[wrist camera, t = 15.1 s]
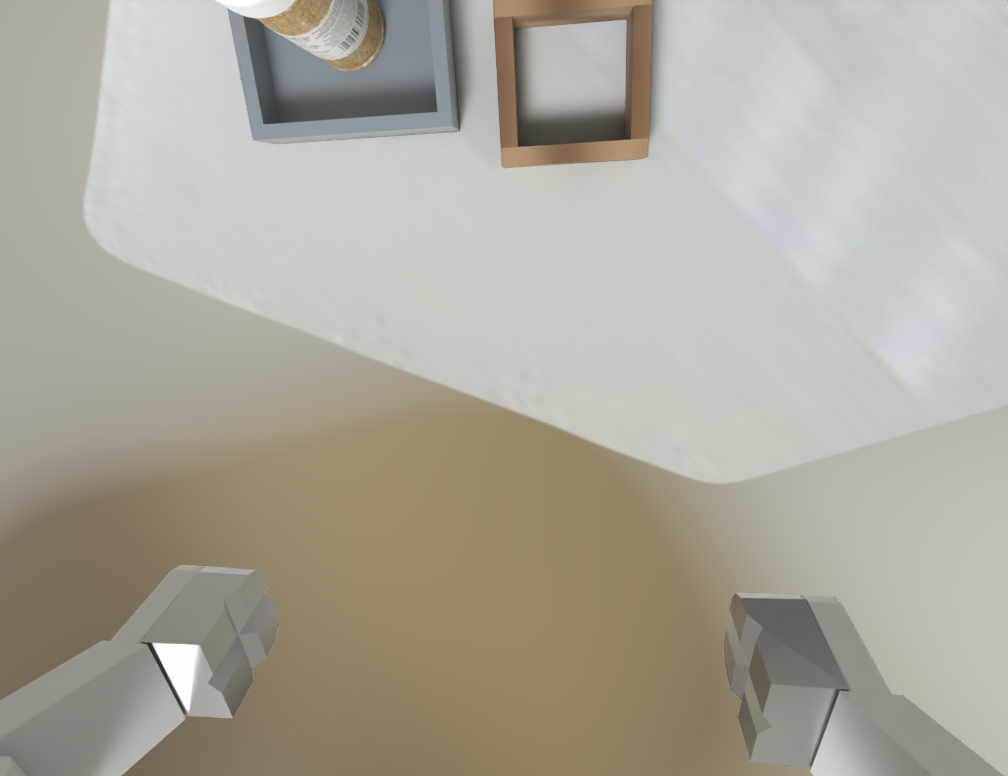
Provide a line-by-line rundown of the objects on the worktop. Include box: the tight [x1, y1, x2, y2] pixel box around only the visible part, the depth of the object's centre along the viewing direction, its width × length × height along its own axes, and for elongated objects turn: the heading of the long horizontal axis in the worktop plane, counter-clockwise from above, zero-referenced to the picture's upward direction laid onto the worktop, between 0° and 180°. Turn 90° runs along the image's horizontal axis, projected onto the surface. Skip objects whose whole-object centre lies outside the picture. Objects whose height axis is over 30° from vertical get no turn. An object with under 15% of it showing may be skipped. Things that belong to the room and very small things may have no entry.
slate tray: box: [227, 0, 460, 144], centre depth 31 cm, size 12×12×3 cm
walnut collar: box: [493, 0, 653, 168], centre depth 32 cm, size 9×9×2 cm
